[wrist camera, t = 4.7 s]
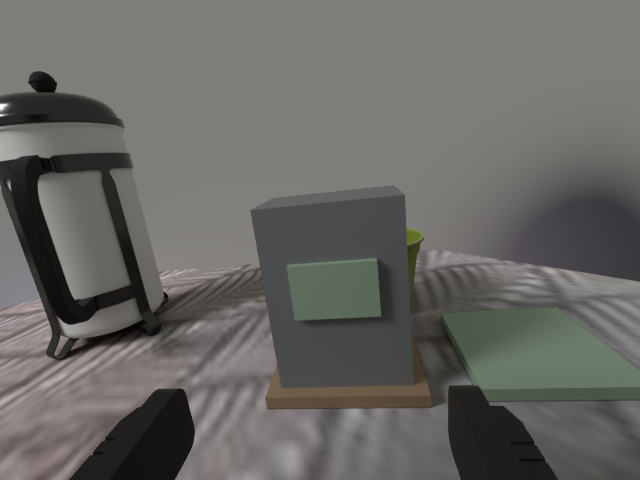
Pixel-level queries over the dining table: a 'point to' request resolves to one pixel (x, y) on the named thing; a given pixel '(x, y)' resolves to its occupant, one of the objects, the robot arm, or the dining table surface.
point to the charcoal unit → (339, 300)
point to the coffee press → (77, 213)
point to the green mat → (538, 357)
